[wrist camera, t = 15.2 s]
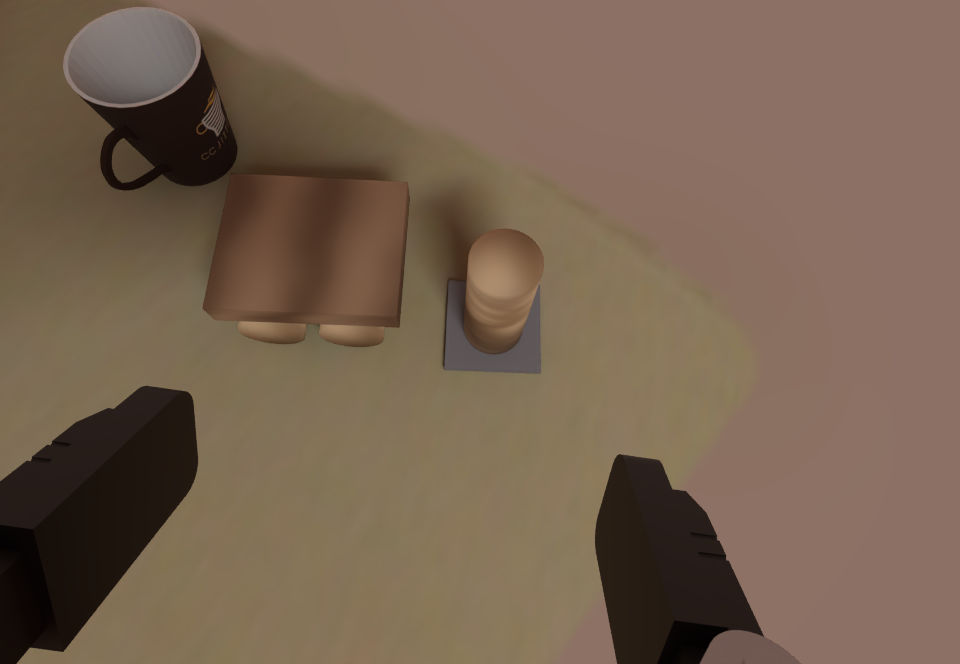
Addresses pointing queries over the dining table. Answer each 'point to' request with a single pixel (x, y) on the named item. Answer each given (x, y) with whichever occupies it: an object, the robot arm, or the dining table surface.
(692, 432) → the dining table surface
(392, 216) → the slab
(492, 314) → the roller
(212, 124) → the coffee mug
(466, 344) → the mat
